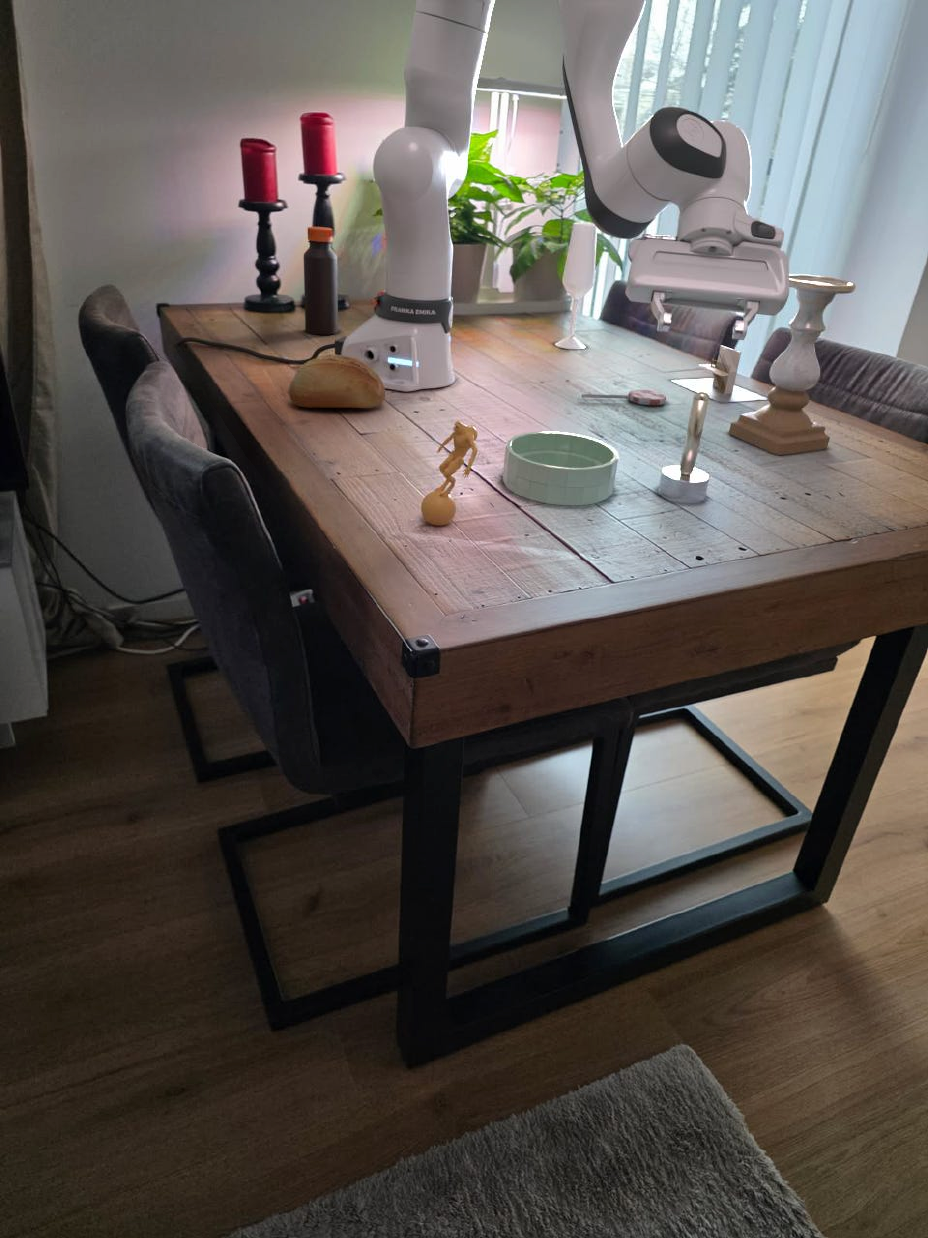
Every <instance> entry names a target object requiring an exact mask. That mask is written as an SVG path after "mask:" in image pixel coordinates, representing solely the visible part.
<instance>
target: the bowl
mask: <svg viewBox="0 0 928 1238" xmlns="http://www.w3.org/2000/svg"><path fill="white" fill-rule="evenodd" d="M503 462H504V463H503V470H502V471H503V472H502V482H503V484H504V486H505V488H506V489H508V490H509V491H511V493H513V494H515V495H518V496H520V497H522V498H525V499H527V500H531V501H534V502H539V503H542V504H548V505H555V506H563V507H564V506H568V507H569V506H587V505H594V504H597V503H601V502H603V501H606V500H607V499H609V497H611V496H612V495H613V494H614V493H613V492H614V486H615V480H616V474H617V469H618V462H619V453H618V451H617V450H616V449H615V447H613V446H611V445H609V444H608V443H605V442H604V441H602V440H599V439H595V438H592V437H589V436H586V435H580V434H576V433H570V432H560V431H534V432H525V433H521V434H518V435H515V436H513V437H511V438H510V439H507V441H506V444H505V450H504V461H503Z"/></svg>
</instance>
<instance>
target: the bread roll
mask: <svg viewBox="0 0 928 1238" xmlns="http://www.w3.org/2000/svg"><path fill="white" fill-rule="evenodd" d="M288 396H289V399H290V401H291V403H293V404H294V405H295V406H297V407H301V408H309V409H310V408H311V409H312V408H328V409H329V408H330V409H331V408H332V409H335V408H354V409H355V408H356V409H357V408H358V409H372V408H376V407H378V406H380V405H382V404H383V402H384V401H385V400H386V399H385V398H386V388H384V386H383V383H382V381H381V379H380V378H379V376H378V375H377V374H376V373H375V372H374V371H373V370H372V369H371V368H370V367H369V366H368V365H366V364H365V363H364V362H362V361H360V360H358V359H356V358H351V357H347V356H341V355H335V354H334V355H333V354H327V355H321V356H317V358H314V359H312V360H310V361H308V362H307V363H305V364H301V365H300V366H299V367H298V369H297V371H296V372H295V373H294V376H293V377H292V379H291V381H290V384H289V386H288Z"/></svg>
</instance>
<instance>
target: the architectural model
mask: <svg viewBox="0 0 928 1238" xmlns="http://www.w3.org/2000/svg"><path fill="white" fill-rule="evenodd" d="M716 349H717V351H718V357H717V360H716V359H715V358H711V362H710V363H706V364H705V363H704V364H698V368H700V369H703V370H705V371H708V372H710V373H712V375H713V377H707V378H706V377H705V378H690V379H674V380H673V379H672V380H671V382H673V383H675V384H676V385H679V386H682V387H684V388H687V389H688V390H691V391H693V392H695V393H697V392H700V391H704V392H706V393H707V394H708V396H709V399H711V400H713V401H716V402H718V403H720V404H723V403H737V402H747V401H748V402H750V401H762V400H763V401H764V400H765V401H766V400H768V397H766V396H763V395H760V394H758V393H755V392H753V391H751V390H748V389H746V388H743V387H741V386H738V385H736V384H735V382H736V377H737V373H738V369H739V364H740V359H741V355H742V351H738V350H736V349H733V348H730V347H727V346H724V345H721V344H720V346H719V348H716Z"/></svg>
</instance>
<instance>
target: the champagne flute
mask: <svg viewBox="0 0 928 1238" xmlns="http://www.w3.org/2000/svg"><path fill="white" fill-rule="evenodd" d="M597 238H598V228H597V227H596V226H595V225H594V223H590V222H574V223H573V225H572V229H571V235H570V240H569V245H568V250H567V255H566V259H565V265H564V270H563V274H562V279H561V282H562V285H563V288H564V289H565V291H566V292H567V293H568V295H569V296H570V297H571V298H572V305H571V314H570V321H569V329H568V336H566V337H564V338H563V339H560V340H559V341H557V342H555V343H554V346H555V347H558V348H562V349H566V350H583V349H586V346H585V345H584V344H583V343H582V342H581V341H580V340H579V339H577V338H576V337H575V332H576V324H577V318H578V317H577V315H578V310H579V303H580V302H579V301H580V299H581V298H583V297H584V296H586V295H587V294H588V293H589V292H590V291H591V290H592V289H593V288H594V286H595V279H596V262H597V261H596V258H597Z"/></svg>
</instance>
